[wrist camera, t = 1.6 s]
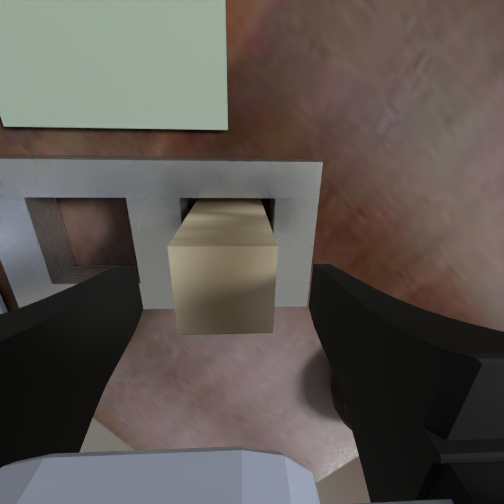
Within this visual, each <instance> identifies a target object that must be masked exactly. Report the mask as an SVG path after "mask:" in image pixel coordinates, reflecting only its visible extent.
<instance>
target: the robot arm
mask: <svg viewBox="0 0 504 504" xmlns="http://www.w3.org/2000/svg"><path fill="white" fill-rule="evenodd" d="M309 309H310V313H311V317H312V320H313V324H314V327H315V330H316V332H317V334H318V337H319V339H320V342H321V344H322V346H323V349H324V351H325V353H326V355H327V358H328V360H329V362H330V365H331V367H332V369H333V372H334V374H335V377H336V379H337V382H338V385H339V388H340V391H341V394H342V398H343V401H344V404H345V407H346V411H347V414H348V418H349V421H350V425H351V428H352V432H353V435H354V439H355V442H356V446H357V450H358V454H359V457H360V461H361V465H362V469H363V472H364V476H365V481H366V485H367V489H368V493H369V497H370V501H371V503H359V504H504V332H502V331H498V330H493V329H489V328H485V327H481V326H477V325H473V324H469V323H466V322H462V321H459V320H455V319H452V318H448V317H445V316H442V315H439V314H436V313H433V312H430V311H427V310H424V309H421V308H418V307H416V306H413V305H411V304H408V303H406V302H403V301H401V300H398V299H396V298H394V297H392V296H389V295H387V294H385V293H383V292H381V291H379V290H377V289H375V288H373V287H371V286H369V285H367V284H365V283H364V282H362V281H360V280H358V279H356V278H355V277H353V276H351V275H349V274H347V273H346V272H344V271H342V270H340V269H338V268H336V267H334V266H332V265H330V264H314V265H313V273H312V282H311V291H310V299H309ZM142 311H143V304H142V298H141V292H140V287H139V281H138V275H137V270H136V265H120V266H117V267H114V268H111V269H109V270H106V271H104V272H102V273H100V274H98V275H95V276H93V277H91V278H89V279H87V280H85V281H83V282H81V283H78V284H76V285H74V286H72V287H70V288H67V289H65V290H63V291H60V292H58V293H56V294H53V295H51V296H49V297H47V298H44V299H42V300H39V301H37V302H34V303H31V304H29V305H26V306H23V307H20V308H17V309H15V310H12V311H9V312H8V311H7V309H6V306H5V304H4V302H3V299H2V297H1V294H0V504H320V500H319V496H318V492H317V489H316V485H315V481H314V478H313V474H312V472H310V471H309V470H308V469H306V468H305V467H303V466H302V465H300V464H299V463H297V462H295V461H294V460H292V459H290V458H289V457H287V456H286V455H284V454H282V453H281V452H279V451H274V450H266V449H258V448H250V447H243V446H238V447H213V448H187V449H161V450H135V451H109V452H85V453H79V452H80V449H81V446H82V444H83V441H84V438H85V436H86V433H87V431H88V428H89V425H90V423H91V420H92V418H93V415H94V413H95V410H96V408H97V405H98V403H99V401H100V398H101V396H102V393H103V391H104V389H105V387H106V385H107V383H108V381H109V379H110V377H111V375H112V373H113V371H114V369H115V367H116V366H117V364H118V362H119V360H120V358H121V356H122V355H123V353H124V351H125V349H126V347H127V345H128V343H129V342H130V340H131V338H132V336H133V334H134V332H135V330H136V328H137V325H138V322H139V320H140V317H141V314H142Z"/></svg>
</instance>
